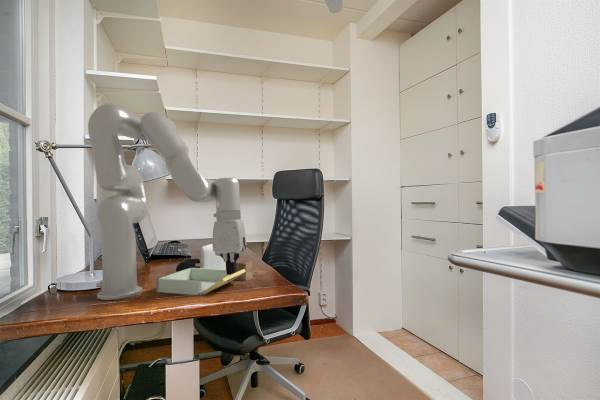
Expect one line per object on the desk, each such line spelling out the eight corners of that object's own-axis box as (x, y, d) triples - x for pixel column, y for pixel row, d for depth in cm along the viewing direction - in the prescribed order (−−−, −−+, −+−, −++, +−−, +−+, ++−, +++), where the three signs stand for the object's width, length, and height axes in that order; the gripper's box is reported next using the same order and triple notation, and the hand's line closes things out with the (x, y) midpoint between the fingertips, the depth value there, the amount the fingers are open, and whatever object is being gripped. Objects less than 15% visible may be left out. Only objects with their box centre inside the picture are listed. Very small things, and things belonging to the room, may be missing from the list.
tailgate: (203, 291, 97) (222, 278, 95) (227, 280, 110) (244, 268, 108) (205, 295, 97) (224, 282, 95) (228, 283, 110) (246, 272, 108)
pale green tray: (156, 294, 101) (155, 279, 101) (191, 281, 117) (190, 267, 117) (201, 298, 96) (200, 282, 96) (231, 284, 112) (230, 269, 112)
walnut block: (233, 282, 114) (233, 263, 114) (240, 279, 119) (240, 260, 119) (246, 283, 112) (245, 263, 112) (252, 280, 117) (252, 261, 117)
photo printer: (224, 272, 131) (224, 242, 131) (228, 274, 127) (228, 243, 127) (199, 276, 125) (198, 244, 125) (203, 278, 121) (202, 245, 121)
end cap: (182, 274, 130) (182, 257, 130) (200, 273, 131) (200, 256, 131) (175, 280, 120) (175, 262, 120) (195, 279, 121) (194, 261, 121)
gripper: (201, 218, 101) (204, 276, 101) (243, 216, 96) (246, 277, 96) (215, 216, 108) (217, 270, 108) (255, 215, 103) (257, 271, 103)
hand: (231, 273), depth 102 cm, fingers closed
